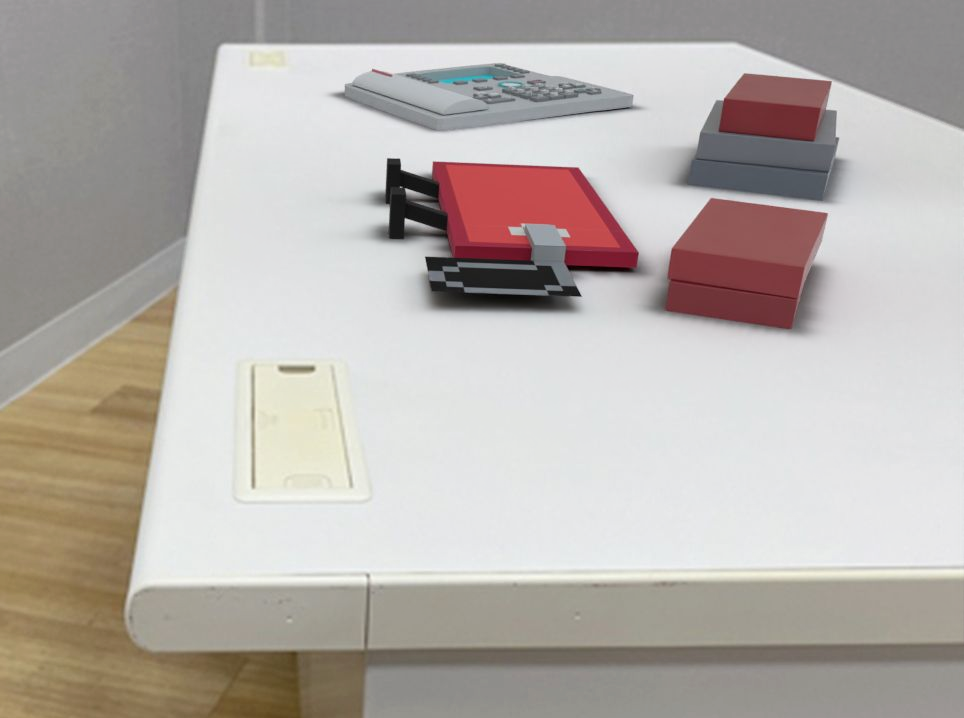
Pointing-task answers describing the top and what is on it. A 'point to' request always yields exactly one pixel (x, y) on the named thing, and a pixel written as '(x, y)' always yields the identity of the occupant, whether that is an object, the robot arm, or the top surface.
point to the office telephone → (480, 95)
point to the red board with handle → (509, 226)
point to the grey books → (764, 160)
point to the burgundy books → (744, 262)
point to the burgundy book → (775, 107)
